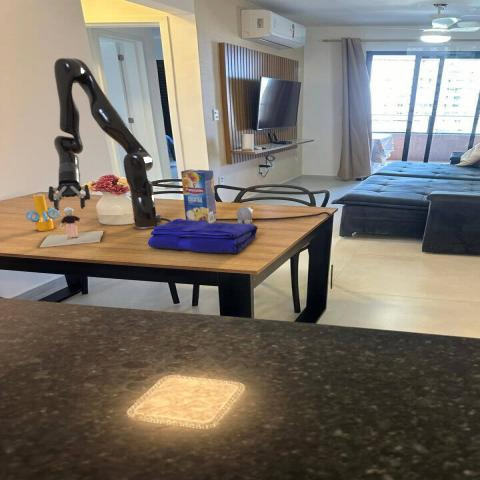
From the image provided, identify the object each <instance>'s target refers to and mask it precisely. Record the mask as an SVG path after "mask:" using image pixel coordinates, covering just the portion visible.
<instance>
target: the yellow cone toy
mask: <svg viewBox="0 0 480 480" xmlns="http://www.w3.org/2000/svg"><path fill="white" fill-rule="evenodd" d="M32 199H33V205H34V208H35V211H34V210H27V211H26V212H25V213H24V214H25V218H26V219H27V220H29V221H30V222H32V223H35V225H36V230H37V231H39V232H47V231H51V230H53V229H55V226H54V225H55V224H54V220H56V219H58V218H59V217H60V212H59V210H57V209H55V208H54V207H48V205H47V201H46V196H45V194H44V193H43V194H42V193H37V194H33V195H32ZM51 212H52V214H51ZM33 215H34V217H33ZM53 219H54V220H53Z"/></svg>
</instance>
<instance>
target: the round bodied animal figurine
mask: <svg viewBox="0 0 480 480" xmlns="http://www.w3.org/2000/svg"><path fill="white" fill-rule="evenodd" d="M236 216H237V219H238V220H236V221H237V222H236V223H239V224H251V225H252V224H253V220H252V219H251V218H253V216H254V207H253V206H251V207H250V206H248V205H245V206H241V207H239V208H238V209H237V211H236Z"/></svg>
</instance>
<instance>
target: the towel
mask: <svg viewBox="0 0 480 480" xmlns="http://www.w3.org/2000/svg"><path fill="white" fill-rule="evenodd" d="M258 227H259V226H257V225H255V224H252V223H251V224H239V223H237V222H235V223H234V222H233V223H232V222H222V221H221V222H220V221H218V222H217V221H215V222H213V223H207V222H205V221H195V220H186V218H185V219H183V218H175V219H172V220H171V221H170V222H168V221H167V222H166V223H163V224H159V225H158V226H157V227H154V228H152V231H150V235H151V237H150V238H149V239H148V240H147V245H148V246H149V247H150V248H152V249H153V248H154V249H164V250H175V251H188V252H192V253H201V254H203V253H204V254H206V253H207V254H231V255H237V254H239V253H240V252H241V251H242V250H243V249H244V248H245V247H247V246H248V245H249V244H250V243H252V242H253V241H254V239H255V238H256V236H257V233H258Z"/></svg>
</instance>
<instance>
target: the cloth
mask: <svg viewBox="0 0 480 480" xmlns="http://www.w3.org/2000/svg"><path fill="white" fill-rule="evenodd" d="M103 234H104V230H94V231H84V232H83V231H81V232H78V236H79V238H73V237H72V239H69V240H67V234H66V233H62V234H49V235H47V236H46V238H45V239H44V240H43V241H42V242H41V244H40V245H39V248H50V247H60V246H69V245H79V244H90V243H100V242H101V239H102V237H103Z"/></svg>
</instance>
